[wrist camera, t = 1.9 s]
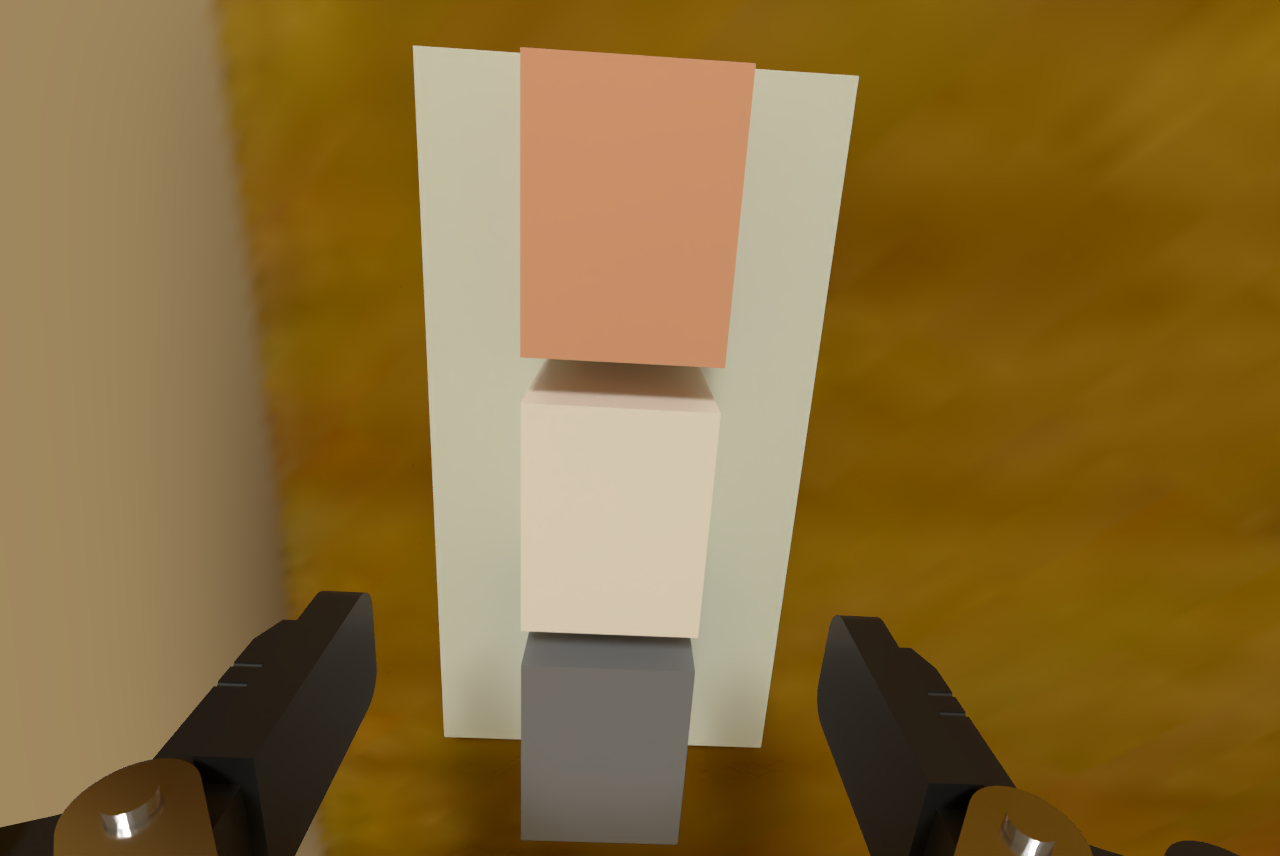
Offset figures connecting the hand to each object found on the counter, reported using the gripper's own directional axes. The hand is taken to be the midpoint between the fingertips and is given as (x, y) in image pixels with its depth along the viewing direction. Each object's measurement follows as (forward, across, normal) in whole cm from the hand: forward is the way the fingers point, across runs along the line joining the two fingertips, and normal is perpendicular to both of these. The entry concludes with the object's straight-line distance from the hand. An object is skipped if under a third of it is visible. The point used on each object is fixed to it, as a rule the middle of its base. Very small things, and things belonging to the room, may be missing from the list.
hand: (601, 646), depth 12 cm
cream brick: (+10, 0, +1) cm, 10 cm away
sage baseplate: (+11, 0, +1) cm, 11 cm away
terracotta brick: (+10, 0, -7) cm, 12 cm away
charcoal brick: (+10, 0, +8) cm, 13 cm away
